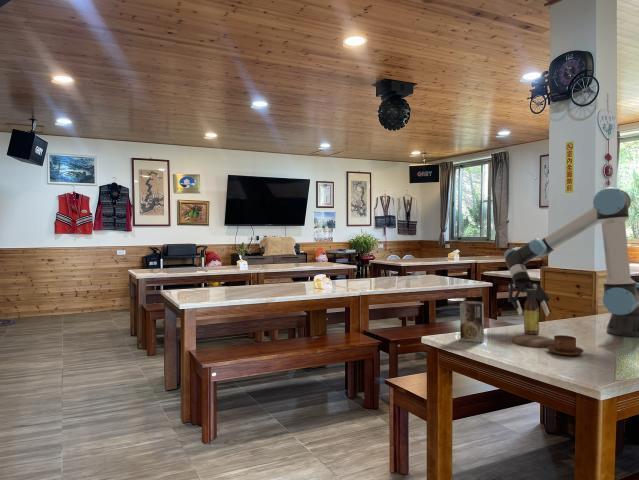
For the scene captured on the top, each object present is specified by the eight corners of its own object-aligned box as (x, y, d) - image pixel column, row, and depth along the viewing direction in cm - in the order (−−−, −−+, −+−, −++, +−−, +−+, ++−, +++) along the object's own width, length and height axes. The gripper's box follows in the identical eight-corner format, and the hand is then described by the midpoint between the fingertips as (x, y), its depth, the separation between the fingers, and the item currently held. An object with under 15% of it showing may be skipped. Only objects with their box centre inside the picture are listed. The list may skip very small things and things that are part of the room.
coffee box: (484, 339, 198) (484, 301, 198) (482, 343, 192) (482, 303, 192) (461, 338, 202) (461, 300, 201) (459, 341, 196) (459, 302, 196)
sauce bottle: (540, 335, 207) (541, 290, 206) (525, 334, 208) (525, 290, 208) (537, 332, 213) (537, 288, 213) (522, 331, 214) (522, 288, 214)
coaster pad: (561, 342, 192) (561, 339, 192) (546, 349, 181) (546, 345, 181) (522, 336, 204) (522, 333, 204) (506, 342, 192) (506, 339, 192)
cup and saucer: (582, 359, 167) (582, 342, 167) (545, 355, 174) (545, 338, 174) (584, 352, 177) (584, 336, 177) (549, 348, 184) (549, 332, 184)
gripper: (542, 281, 225) (557, 318, 210) (493, 281, 226) (505, 318, 210) (547, 270, 220) (564, 309, 205) (497, 270, 220) (510, 309, 205)
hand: (534, 314), depth 208 cm, fingers open, 11 cm apart
